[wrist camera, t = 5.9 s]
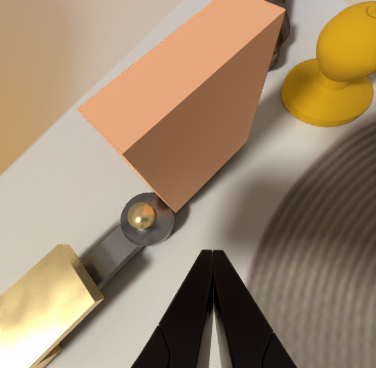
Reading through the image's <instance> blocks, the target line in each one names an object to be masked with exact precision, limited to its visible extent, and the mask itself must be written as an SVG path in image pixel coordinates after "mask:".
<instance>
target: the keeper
mask: <svg viewBox="0 0 376 368" xmlns="http://www.w3.org/2000/svg"><path fill="white" fill-rule="evenodd" d="M103 299H104V297H103V295H102V294H101V292H100V291H99V289H98V288H97V286H96V285H95V283H94V281H93V280H92V278H91V277H90V275H89V274H88V272H87V271H86V269H85V268H84V266H83V265H82V263H81V262H80V260H79V258H78V257H77V255H76V254H75V252H74V251H73V249H72V248H71V246H70V245H60V244H58V245H57V246H56V247H55V248H54V249H53V250H52V251H51V252H49V253H48V254H47V255H46V256H45V257H44V258H43V259H42V260H40V261H39V262H38V263H37V264H36V265H35V266H34V267H33V268H31V269H30V270H29V271H28V272H27V273H26V274H25V275H24V276H23V277H21V278H20V279H19V280H18V281H17V282H16V283H15V284H14V285H12V286H11V287H10V288H9V289H8V290H7V291H6V292H5V293H3V294H2V295H1V296H0V368H44V367H45V366H46V365H47V364H48V363H49V362H50V361H51V360H52V359H53V358H54V357H55V356H56V355H57V354H58V353H59V352H60V351H61V350H62V348H61V346H60V344H59V342H60V341H61V340H63V339H64V338H65V337H66V336H67V335H68V334H69V333H70V332H71V331H72V330H73V329H74V328H75V327H76V326H77V325H78V324H79V323H80V322H81V321H82V320H83V319H84V318H85V317H86V316H87V315H88V314H89V313H90V312H91V311H92V310H93V309H94V308H95V307H96V306H97V305H98V304H99V303H100V302H101V301H102V300H103Z"/></svg>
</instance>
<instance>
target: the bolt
mask: <svg viewBox="0 0 376 368" xmlns="http://www.w3.org/2000/svg"><path fill="white" fill-rule="evenodd" d="M264 1H267V2H269V3H272V4H274V5H277V6H279V7H282V8H284V9H286V6H285V4H284V3H285V0H264ZM289 33H290V24H289V18H288V13H287V9H286V11H285V15H284V18H283V22H282V25H281V28H280V32H279V35H278V38H277V42H276V45H275V49H274V52H273V55H272V59H271V62H270V66H269V68H271V67H273V66H274V65H275V64H276V62H277V60H278V55H279V47H280V46H281V45H282V43H283V42H284V41H285V40H286V39H287V37H288V36H289Z"/></svg>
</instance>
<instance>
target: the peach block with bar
mask: <svg viewBox="0 0 376 368" xmlns="http://www.w3.org/2000/svg"><path fill="white" fill-rule="evenodd" d="M285 11H286V9H284V8H282V7H279V6H277V5H274V4H272V3H269V2H267V1H264V0H213V1H212V2H211V3H210V4H208V5H207V6H206V7H205V8H203V9H202V10H201V11H200V12H198V13H197V14H196V15H195V16H193V17H192V18H191V19H190V20H188V21H187V22H186V23H184V24H183V25H182V26H181V27H179V28H178V29H177V30H176V31H174V32H173V33H172V34H171V35H169V36H168V37H167V38H166V39H164V40H163V41H162V42H161V43H159V44H158V45H157V46H156V47H154V48H153V49H152V50H151V51H149V52H148V53H147V54H145V55H144V56H143V57H142V58H140V59H139V60H138V61H137V62H135V63H134V64H133V65H132V66H130V67H129V68H128V69H127V70H125V71H124V72H123V73H122V74H120V75H119V76H118V77H117V78H115V79H114V80H113V81H112V82H110V83H109V84H108V85H107V86H105V87H104V88H103V89H101V90H100V91H99V92H98V93H96V94H95V95H94V96H93V97H91V98H90V99H89V100H88V101H86V102H85V103H84V104H83V105H81V106H80V107H79V108H78V109H77V110H78V111H79V112H80V113H81V115H82V116H83V117H84V118H85V119H86V120H87V121H88V122H89V123H90V124H91V125H92V126H93V127H94V128H95V129H96V130H97V132H98V133H99V134H100V135H101V136H102V137H103V138H104V139H105V140H106V141H107V142H108V143H109V144H110V145H111V146H112V147H113V149H114V150H115V151H116V152H117V153H118V154H119V155H120V156H121V157H122V158H123V159H124V160H125V161H126V162H127V163H128V164H129V166H130V167H131V168H132V169H133V170H134V171H135V172H136V173H137V174H138V175H139V176H140V177H141V178H142V179H143V180H144V181H145V183H146V184H147V185H148V186H149V187H150V188H151V189H152V190H153V191H154V192H155V193H156V194H155V193H142V194H139V195H137V196H135V197H134V198H132V199H131V200H130V201H129V202H128V203H127V204H126V206H125V207H124V209H123V211H122V215H121V224H120V225H119V226H118V227H117V228H116V229H115V230H114V231H113V232H112V233H111V234H110V235H109V236H108V237H106V238H105V239H104V240H103V241H102V242H101V243H100V244H99V245H98V246H97V247H96V248H95V249H94V250H93V251H92V252H91V253H90V254H89V255H88V256H87V257H86V258H85V259H84V260H82V261H81V263H82V265H83V266H84V268H85V269H86V271H87V272H88V274H89V275H90V277H91V278H92V280H93V281H94V283H95V285H96V286H97V288H98V289H99V290H100V289H101V288H102V287H103V286H104V285H105V284H106V283H107V282H108V281H109V280H110V279H111V278H112V277H113V276H114V275H115V274H116V273H117V272H118V271H119V270H120V269H121V268H122V267H123V266H124V265H125V264H126V263H127V262H128V261H129V260H130V259H131V258H132V257H133V256H134V255H135V254H136V253H137V252H138V251H139V250H140V249H141V248H142V247H143V246H155V245H158V244H160V243H162V242H163V241H165V240H166V239H167V238H168V237H169V235H170V234H171V232H172V230H173V227H174V223H175V216H174V212H175V213H177V212H178V211H179V210H180V209H181V208H182V207H183V206H184V205H185V204H186V203H187V202H188V201H189V200H190V199H191V198H192V197H193V195H194V194H195V193H196V192H197V191H198V190H199V189H200V188H201V187H202V186H203V185H204V184H205V183H206V182H207V181H208V180H209V179H210V178H211V177H212V176H213V175H214V174H215V173H216V172H217V171H218V170H219V169H220V168H221V167H222V166H223V165H224V164H225V163H226V162H227V161H228V160H229V159H230V158H231V157H232V156H233V155H234V154H235V153H236V152H237V151H238V150H239V149H240V148H241V147H242V146H243V145H244V144H245V143H246V142H247V140H248V137H249V133H250V130H251V126H252V123H253V120H254V116H255V113H256V109H257V106H258V103H259V99H260V96H261V93H262V89H263V86H264V82H265V79H266V76H267V72H268V69H269V66H270V62H271V59H272V55H273V52H274V49H275V45H276V42H277V38H278V35H279V32H280V28H281V25H282V22H283V18H284V15H285ZM138 202H145V203H147V204H149V205H150V206H151V207H153V208H154V209H155V211H156V213H157V220H156V223H155V224H154V226H153V227H151V228H150V229H147V230H141V229H138V228H135V227H133V226H131V225H130V223H129V222H128V218H127V215H128V211H129V209H130V208H131V207H132V206H133V205H134V204H135V203H138Z"/></svg>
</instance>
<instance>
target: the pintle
mask: <svg viewBox="0 0 376 368" xmlns="http://www.w3.org/2000/svg"><path fill="white" fill-rule="evenodd" d="M127 218H128V222H129V223H130V225H131V226H133V227H135V228H138V229H141V230H147V229H150V228H151V227H153V226H154V224H155V223H156V220H157V213H156V211H155V209H154V208H153V207H151V206H150V205H149V204H147V203H145V202H138V203H135V204H134V205H133V206H132V207H131V208H130V209H129V211H128V215H127Z"/></svg>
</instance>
